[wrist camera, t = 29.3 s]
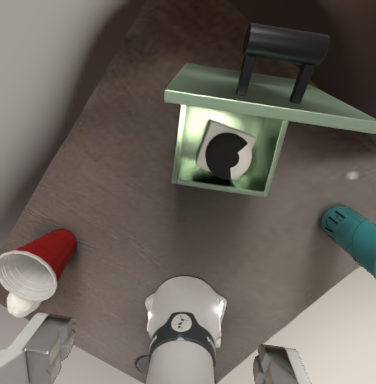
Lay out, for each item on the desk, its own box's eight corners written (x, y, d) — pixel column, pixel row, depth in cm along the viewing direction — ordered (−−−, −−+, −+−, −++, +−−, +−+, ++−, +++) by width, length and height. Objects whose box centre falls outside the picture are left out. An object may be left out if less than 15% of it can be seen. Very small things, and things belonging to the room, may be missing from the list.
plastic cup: (30, 244, 50) (-19, 282, 39) (52, 209, 47) (6, 239, 36) (73, 270, 52) (38, 314, 41) (97, 238, 49) (67, 276, 38)
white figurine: (32, 310, 45) (16, 340, 49) (59, 278, 53) (42, 307, 57) (1, 295, 44) (-12, 327, 48) (33, 264, 52) (19, 295, 56)
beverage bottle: (326, 197, 44) (422, 261, 25) (357, 208, 45) (475, 277, 26) (310, 226, 46) (387, 304, 27) (339, 235, 47) (436, 319, 28)
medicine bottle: (195, 157, 42) (194, 174, 30) (209, 119, 40) (213, 121, 28) (231, 170, 42) (243, 192, 31) (247, 133, 40) (267, 141, 29)
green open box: (252, 179, 44) (267, 197, 34) (176, 168, 43) (171, 183, 34) (274, 91, 38) (299, 84, 29) (188, 78, 38) (185, 67, 29)
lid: (376, 134, 16) (430, 48, 13) (163, 102, 15) (169, 8, 13) (299, 87, 29) (316, 40, 26) (185, 69, 29) (190, 20, 26)
